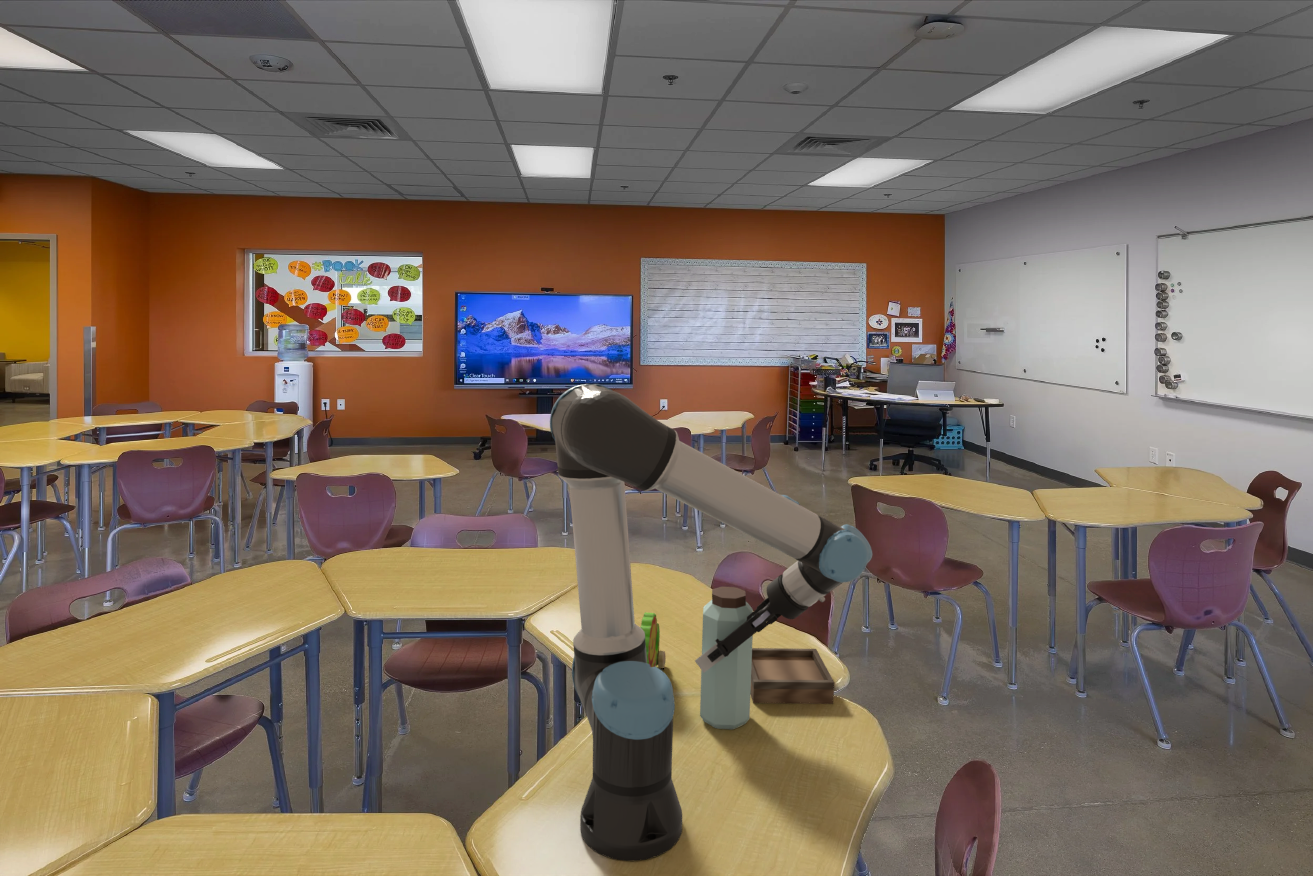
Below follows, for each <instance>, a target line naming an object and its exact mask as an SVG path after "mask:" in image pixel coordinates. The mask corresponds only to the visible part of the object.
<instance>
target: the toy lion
mask: <svg viewBox="0 0 1313 876" xmlns="http://www.w3.org/2000/svg"><path fill="white" fill-rule="evenodd" d="M639 627H640V628H641V629H642V630H643V631H644V633H645V642H646V654H647V664H650V667H657V666H658V667H657V668H658V669H661V668H664V669H665V665H666V659H667V657H666V656H667V655H666V651H665V650H660V636H661V634H660V625H659V623H658V618H657V614H656V613H655V612H646V611H645V612H644V613H643V617H642V619H641V623H640V626H639Z"/></svg>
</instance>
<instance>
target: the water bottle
mask: <svg viewBox="0 0 1313 876" xmlns="http://www.w3.org/2000/svg"><path fill="white" fill-rule="evenodd" d="M746 597H747V596H746V590H744V589H741V588H739V587H735V586H719V587H716V588H712V590H711V599H710V601H708V602H707V603H706V604H705V605H704V606H703V608H702V609H703V610H702V634H701V635H702V637H701V638H702V639H701V655H703V654H704V653H705V652H706V651H708V650H709V649H710V648H711V647H713V646H714V645H715V644H717V643H716V641H715V640H716V639H719V641H722V640H723V639H725V638H726V637H727V636H728V635H729V634H731V633H732V632H733V631H734V630H736V629H737V628H738V627H739V626H741V625H742V624H743V623H744V622H746V621H747V616H748V615H750V614H751V613H752V612H753V611H754V610H753V607H751V605H750V604H749V603H748V602H747V600H746V599H747V598H746ZM752 617H753V616H752ZM752 648H753V635H752V636H751V637H750V638H748V639H747V640H746V641H745V642H743V643H742V644H741V645H740V646H738V647H737V648H736V649H735V650H733V651H732V652H731V653H730V654H729V655H728V656H726V657H724V658H723V659H721V660H720V661H719V662H718V663H716V664H715V665H714V666H712V667H711V668H710V669H708V670H707V671H706V672H703V671H702V670H701V669H700V672H701V673H700V704H699V705H700V707H699V708H700V709H699V710H700V711H699V717H700V718H701V719H702V721H703V722H704V723H705V724H708V725H709V726H711V727H713V728H714V729H721V730H734V729H737V728H739V727H742V726H744V725H746V723H748V721H749V720H750V714H751V713H750V712H751V695H750V691H751V666H752Z"/></svg>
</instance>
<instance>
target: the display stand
mask: <svg viewBox="0 0 1313 876" xmlns="http://www.w3.org/2000/svg"><path fill="white" fill-rule="evenodd" d="M834 693H835V680H834V679H833V677H832V675H831V673H830V671H829V670H828V668H827V666H826V664H825V663H824V660H823V658H822V657H821V655H820V653H819V652H818V650H817V648H781V647H779V648H778V647H777V648H769V647H767V648H766V647H765V648H763V647H758V648H756V647H755V648H754V647H752V666H751V691H750V699H751V700H752V703H753V704H796V705H797V704H803V705H804V704H808V705H809V704H812V705H814V704H816V705H818V704H819V705H820V704H821V705H822V704H823V705H824V704H825V705H828V704H829V705H831V704H832V705H833V704H834V699H835V698H834V697H835V696H834V695H835V694H834ZM833 696H834V697H833Z"/></svg>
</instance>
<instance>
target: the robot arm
mask: <svg viewBox="0 0 1313 876" xmlns="http://www.w3.org/2000/svg"><path fill="white" fill-rule="evenodd" d="M549 430H550V433H551V437H552V438H553V439H554V441H555V449H556V451H555V452H556V460H557V461H556V462H557V471H558V472H557V473H558V478H560V479H561V480H563V481H564V482H565V483H566V484H568V487H569V498H570V507H571V508H570V510H571V520H572V530H573V533H572V534H573V542H574V543H573V544H574V545H573V546H574V555H575V566H576V567H575V568H576V580H577V581H576V582H577V589H578V590H577V591H578V601H579V603H578V604H579V613H580V624H581V629H580V630H579V631H578V632H577V633H576V634H575V636H573V640H572V642H573V643H572V645H573V655H574V656H573V658H572V659H573V660H572V663H571V664H572V665H571V678H572V683H573V687H574V689H575V691H576V694H577V695H578V697H579V699H580V702H581V705H582V708H583V710H584V712H585V715H586V718H587V722H588V723H589V726H590V729H591V735H592V779H591V781H590V783H589V786H588V790H587V792H586V795H585V798H584V801H583V803H582V805H581V806H582V807H581V809H580V816H579V818H580V822H579V826H580V827H579V828H580V829H579V830H580V835H581V837H582V839H583V841H584V842H585V844H586V845H587V846H588V847H589V848H590V849H591V850H593V851H594V852H595V853H597V854H600V855H601V856H604V857H606V858H610V859H614V860H618V861H627V862H629V861H630V862H631V861H632V862H634V861H644V860H649V859H652V858H655V857H659V856H661V855H663V854H665V853H666V852H668V851H670V850H671V849H672V848H673V847H674V846H675V845H676V844H678V843H677V842H678V841H679V840H680V838H681V835H682V833H683V809H682V807H681V804H680V800H679V797H678V794H677V791H676V788H675V785H674V782H673V778H672V776H673V775H672V773H673V772H672V769H673V767H672V766H673V737H674V736H673V735H674V733H673V732H674V714H675V708H676V707H675V705H676V704H675V697H674V688H673V685H672V681H671V680H670V678H669V677H668V675H667V674H666V673H665V672H664V671H663V670H662V669H661V668H658V667H657V666H655V667H650V664H647V654H646V642H645V633H644V631H643V630H642V629H641V628H640V627H641V626H639V625H638V624H636V623H635V611H634V595H633V582H632V580H633V579H632V569H631V554H630V552H631V551H630V541H629V528H628V513H627V499H626V498H627V497H626V486H625V485H626V484H625V483H627V484H629V485H630V486H632V487H635V488H636V489H639V490H641V491H643V492H649V491H652V490H654V489H656V490H657V491H658V492H660V493H663V494H666V495H667V496H669V497H671V498H672V499H675V500H677V501H679V502H681V503H683V504H685V505H687V506H688V507H691V508H693V509H695V510H697V511H699V512H702V513H703V514H705V515H707V516H709V517H711V518H713V519H715V520H717V521H719V522H721V523H723V524H725V525H728V526H729V527H731V528H733V529H735V530H737V531H738V532H741V533H743V534H744V535H747V536H749V537H751V538H753V539H754V540H757V541H759V542H761V543H763V544H765V545H767V546H769V547H771V548H772V549H775V550H777V551H779V552H781V553H783V554H785V555H786V556H789V557H790V558H793V559H794V560H796V561H795V562H794V563H793V564H791V565H789V567H788V568H787V569H786V570H784V571H783V573H782V574H780V575H778V576H777V577H776V578H775V579H773V580H772V581H771V582H769V583H768V585H767V587H766V595H767V598H765V599H764V600H763V601H762V602H761V603H760V604H758V606H757V607H756V609H755V610H753V612H752V613H751V614H750V615H748V616H747V621H746V622H744V623H743V624H742V625H741V626H739V627H738V628H737V629H736V630H734V631H733V632H732V633H731V634H729V635H728V636H727V637H726V638H725V639H723V640H722V641H719V639H716V640H715V641H716V643H717V644H715V645H714V646H713V647H711V648H710V649H709V650H708V651H706V652H705V653H704V654H703V655H702V654H701V655H700V656H699V657H697V658H696V659H695V660H694V662H695V664H697V666H698V667H699V669H700V671H701V670H702V671H703V672H706V671H707V670H708V669H710V668H711V667H712V666H714V665H715V664H716V663H718V662H719V661H720V660H721V659H723V658H724V657H726V656H728V655H729V654H730V653H731V652H732V651H733V650H735V649H736V648H737V647H738V646H740V645H741V644H742V643H743V642H745V641H746V640H747V639H748V638H750V637H751V636H752V635H755V634H757V633H760V632H762V631H763V630H764V629H765V628H767V627H768V626H769V625H772V624H773V623H775V622H776V621H777V620H778V619H779V618H780V617H781V616H782V617H783V618H785V619H788V620H794V619H796V618H798V617H799V616H801V615H802V614H803V613H804V612H806V611H807V610H808V609H809V607H812V606H813V605H814V604H816V603H817V602H818V601H820V602H821V603H824V602H825V601H826V598H825V596H827V595H828V594H829V593H831V592H832V591H834V590H835V589H836V588H837V587H839V586H840V585H841V584H843V583H849V582H852V581H855V580H856V579H858V578H859V577H860V576H861V575H862V574H863V573H864V571H865V569H866V567H867V565H868V563H869V562H870V561H871V560H872V558H873V550H872V546H871V545H870V543H869V541H868V539H867V538H866V537H865V536H864V534H863V533H862V532H861V531H860V530H859V529H858V528H856V527H855V526H853V525H851V524H848V523H846V524H843V525H841V526H840V525H838V524H836V523H834V522H832V521H830V520H828V519H827V518H825V517H823V516H820V515H818V514H817V513H816V512H814V511H811V510H810V509H808V508H806V507H805V506H803V505H801V503H800V502H799V501H798V500H797V501H796V500H795V499H793V498H791V497H790V496H789V495H787V494H780V493H778V492H777V491H774V490H772V489H770V488H769V487H767V486H765V485H762V484H761V483H759V482H757V481H756V480H754V479H751V478H749V477H748V476H746V475H744V474H743V473H740V472H739V471H737V470H735V469H733V468H731V467H729V466H727V465H725V464H724V463H722V462H720V461H718V460H716V459H714V458H712V457H711V456H709V455H707V454H705V453H704V452H702V451H700V450H697V449H696V448H693V447H692V446H690V445H689V444H686V443H684V442H683V441H680V438H679V434H678V432H677V431H676V430H675V429H673V428H671V427H669V426H668V425H666V424H664V423H663V422H661V421H659V420H658V419H656V418H655V417H653V416H652V415H650V414H649V413H648V412H646V410H644V409H642V408H641V407H640V406H639V405H638V404H636V403H635V402H634V401H632V400H631V399H630V398H628V397H627V396H625V395H624V394H621V393H619V392H618V391H614V390H612V389H611V388H609V387H608V386H604V385H603V384H599V383H585V384H580V385H575V386H573V387H571V388H568V389H567V390H566V391H564V392H563V393H562V394H561V395H560V396H558V398H557V400H556V401H555V402H554V404H553V406H552V409H551V412H550V417H549ZM752 616H753V617H752Z"/></svg>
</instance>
